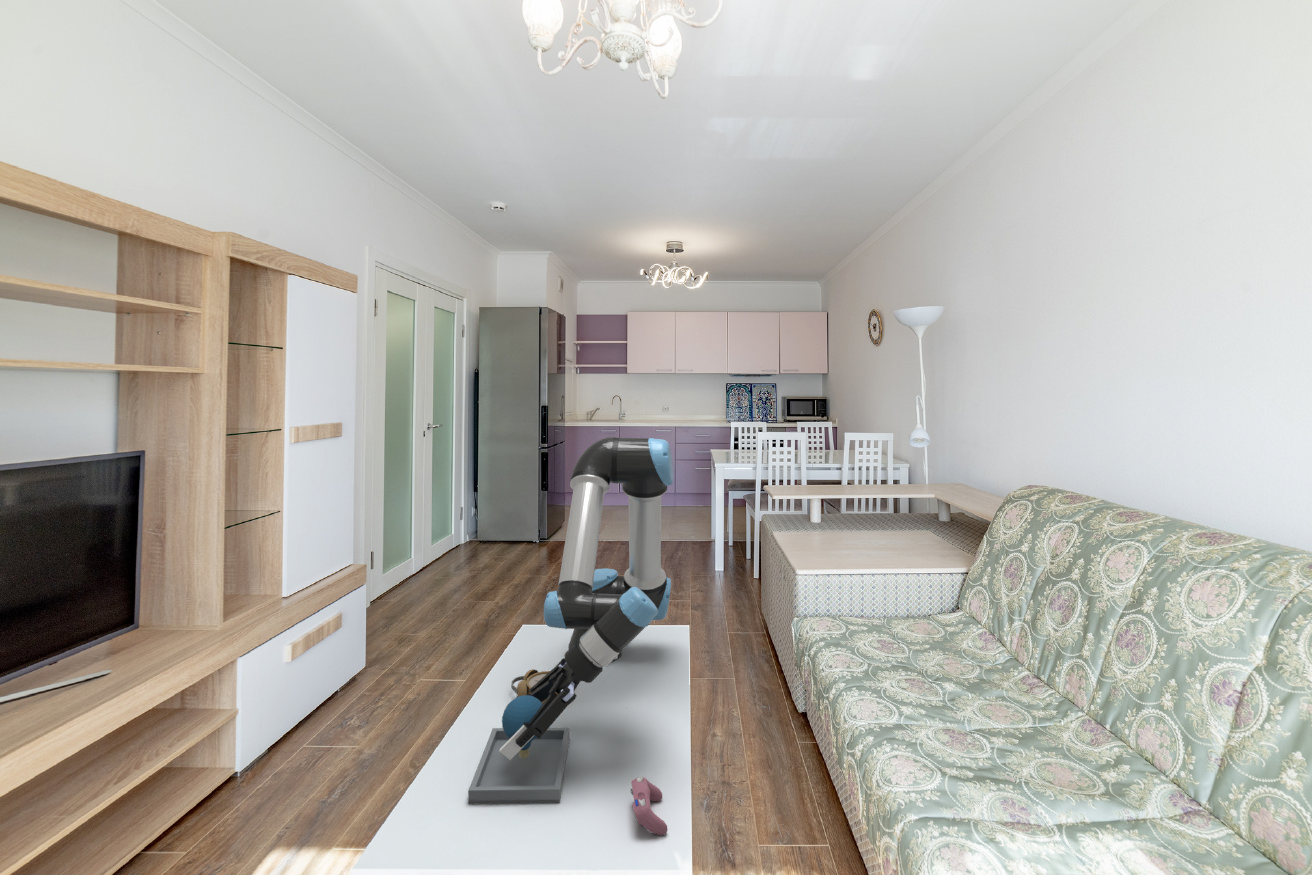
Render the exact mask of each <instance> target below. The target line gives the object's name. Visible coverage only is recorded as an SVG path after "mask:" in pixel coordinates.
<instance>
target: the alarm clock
mask: <svg viewBox="0 0 1312 875" xmlns="http://www.w3.org/2000/svg"><path fill="white" fill-rule="evenodd" d="M550 671H551V670H544V671H543V670H542V671H538V670H537V669H534V668H533V669H530V670H528V671H526V673H525V674H524V675H521V676H517V677H515V678H513V679H512V681H511V686H510V687H511V690H513V691H514V693H516V695H517V696H516V697H519V696H523V695H529V694H530V693H531V692H530V689H531V688H532V687H533V686H534V685H535V684H536V683H537V682H538V681H540V680H541V679H542V678H543V677H544V676H545V675H546V674H548V673H549V672H550ZM517 682H518V684H517V686H515V685H514V684H515V683H517ZM555 693H556V692H555ZM556 694H557V693H556ZM557 695H558V694H557ZM545 700H546V699H545ZM545 700H544V701H545ZM544 701H542V702H541V703H542V704H543V703H544Z"/></svg>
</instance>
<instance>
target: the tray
mask: <svg viewBox="0 0 1312 875" xmlns="http://www.w3.org/2000/svg"><path fill="white" fill-rule="evenodd" d="M570 732H571V731H570V727H549V728H548V729H547V730H546V732H545V733H544V734H543V735H542V736H541V737H540V738H536V739H534V740H533V741H532V742H531V746H530V747H529V755H528V757H526V758H521V757H520V756H519V752H518V753H517V754H516V755H515V756H514V757H513V758H512V759H511V760H509V759H508V758H507V757H506V756H505V755H503V754H502V753H501V752H500V748H501V747H502V746H503V745H504V744H505V743H506V742H507V741H508V740H509V738H508V737H507V735H506V734H505V732H504V730H503V727H492V729H491V732H490V735H489V737H488V740H487V742H486V745H485V748H484V750H483V752H482V755H481V757H480V760H479V763H478V765H477V767H476V770H475V772H474V775H473V778H472V780H471V783H470V786H469V788H468V790H467V791H468V797H467V800H468V802H467V804H468V805H496V804H498V805H499V804H501V803H502V804H503V805H505V804H506V805H507V804H559V803H561V802H560V801H561V796H562V789H563V783H564V775H565V769H566V762H567V757H568V756H567V755H568V750H569V745H570ZM568 744H569V745H568Z"/></svg>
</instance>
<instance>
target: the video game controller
mask: <svg viewBox="0 0 1312 875" xmlns="http://www.w3.org/2000/svg"><path fill="white" fill-rule="evenodd" d="M630 784H631V787H632V788H630V794H631V795H632V796H633V802H632V808H633V813H634V816H635V818H636V821H637V823H638V824H639V825H640V826H643V827H644V828H645V829H646V830H647V831H648V832H651V833H652V834H655V835H657V836H664V835H666V834H667V832H668V830H669V829H668V824H666V822H665V820H663V819H661V818H660V817H659V816H658V815H657V814H655V812H654V811H653V810H652V809H651V802H652V801H653V802H660V801H662V799H663V792H662V791H661V790H660V788H659V787H658V786H656V785H654V784H653V783H651V781H649V780H648V779H647V778H646V777H644V776H641V777H636V778H634V779H632V780H631V781H630Z"/></svg>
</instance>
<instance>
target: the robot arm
mask: <svg viewBox="0 0 1312 875" xmlns="http://www.w3.org/2000/svg"><path fill="white" fill-rule="evenodd" d="M569 482H570V483H569V486H570V488H571V489H572V490H573V491H572V495H571V502H570V508H569V515H568V522H567V528H566V534H565V541H564V547H563V553H562V559H561V567H560V572H559V577H558V578H559V580H558V584H557V585H558V587H557V590H554V591H548V592H547V594H546V596H545V600H544V604H543V621H544V623H545V625H546V626H547V627H549V628H556V629H563V630H570V629H571V630H573V632H572V634H571V636H570V639H569V643H568V647H567V648H568V649H567V651H566V652H565V653H564V657H563V658H562V659H561V660H560V661H559V662H558V663H557V664H555V666H554V667H553V668H552V669H550V670H549V671H550V672H549V673H548V674H546V675H545V676H544V677H543V678H542V679H541V680H540V681H538V682H537V683H536V684H535V685H534V686H533V687H532V688H531V689H530V692H531V693H530V694H529V696H533V697H535V698H537V699H538V700H539V701H540V702H542V701H544V700H545V699H546V700H545V701H544V703H543V704H542V705H541V707H540V708H539V709H538V711H537V712H536V714H535V715H534V716H533V718H532V719H531V720H530V722H529V723H526V722H524V724H523V726H522V727H521V728H520V729H519V730H518V731H517V732H516V733H515V734H514V735H513V736H512V737H511V738H510V739H509V740H508V741H507V742H506V743H505V744H504V745H503V746H502V747H501V748H500V752H501V753H502V754H503V755H505V756H506V757H507V758H508V759H509V760H511V759H512V758H513V757H514V756H515V755H516V754H517V753H518V752H519V751H520V750H521V749H522V748H523V747H524V746H525V745H526V744H527V743H528V742H529V741H530V740H531V739H532V738H533V737H534V736H536V737H537V738H540V737H541V736H542V735H543V734H544V733H545V732H546V730H547V729H548V728H551V726H552V725H553V723H554V722H555V721H556V720H557V719H558V718H559V717H560V716H561V714H562V713H563V712H564V711H565V710H566V708H567V707H568V706H569V705H570V704H572V702H573V701H575V700H576V698H577V694H576V693H575V691H576V690H577V689H578V688H577V687H578V686H579V684H580V683H581V682H584V683H586V684H591V683H592V682H594V680H595V679H596V678H598V676H600V674H601V673H602V672H603V669H604V668H607V667H608V666H609V664H611V663H612V662H614V661H616V660H617V659H619V658H620V657H621V656H622V654H623V650H625V648H626V647H627V646H629V644H630V643H631V642H632V641H633V640H634V639H635V638H636V637H637V636H638V635H640V633H641V632H642V631H643V630H644V629H646V628H647V627H648V626H649V625H650V623H652V621H662V620H665V618H666V617H667V614H668V609H669V605H670V596H671V590H672V579H671V578H669V577H667V574H666V571H665V570H664V569H663V568H662V567H661V566H662V565H661V563H662V562H661V561H662V560H661V558H662V556H661V555H662V554H661V553H662V535H661V534H662V496H663V495H665V494H666V493H667V491H668V487H669V486H671V485H673V483H674V470H673V457H672V452H671V445H670V443H669V442H668V441H667V440H665V439H662V438H660V439H659V438H652V437H649V438H648V437H647V438H646V437H645V438H643V437H616V436H614V437H613V436H610V437H609V436H608V437H604V438H601V439H598V440H597V441H594V442H593V443H592V444H591V445H590V446H588V447H587V448H586V449H585V450H584V451H583V452H582V454H581V455H580V456H579V458H578V459H577V461H576V462H575V465H574V467H573V469H572V472H571V476H570V481H569ZM610 484H619V485H620V484H621V485H622V491H623V493H624V494H625V495H626V496H628V498H627V499H628V558H629V561H628V562H629V566H628V567H629V568H627V569H626V570H625V571H624V575H623V576H622V575H619V573H618V571H617V570H616V569H612V568H597V569H596V564H597V554H598V547H599V541H600V540H599V538H600V531H601V522H602V514H603V505H604V498H605V494H607V493H608V492H609V488H610ZM555 692H556V693H557V694H558V695H557V694H556V693H555Z"/></svg>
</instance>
